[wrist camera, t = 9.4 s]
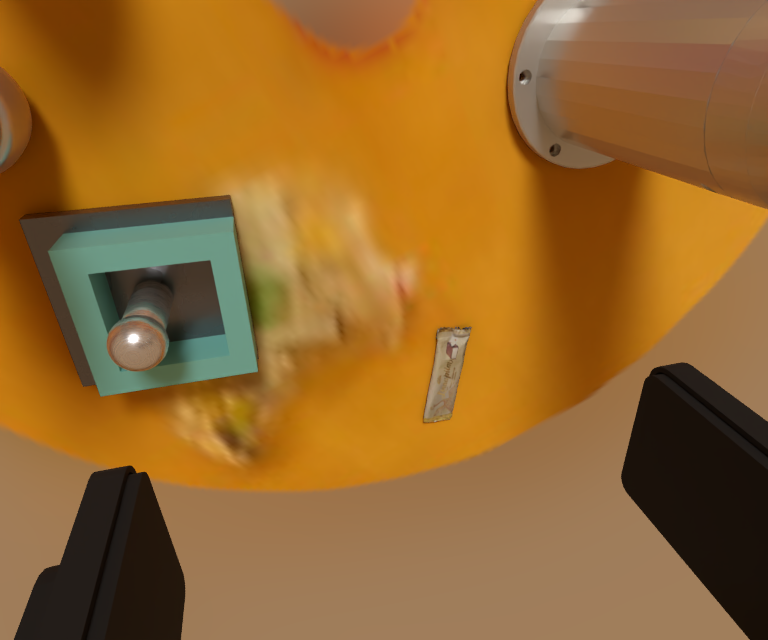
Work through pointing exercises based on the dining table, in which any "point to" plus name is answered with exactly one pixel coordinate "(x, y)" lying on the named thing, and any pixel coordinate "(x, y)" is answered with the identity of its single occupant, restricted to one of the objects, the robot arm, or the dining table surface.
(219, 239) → the teal square frame
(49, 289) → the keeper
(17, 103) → the plastic bottle
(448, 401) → the snack bar
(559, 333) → the dining table surface
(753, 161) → the robot arm
